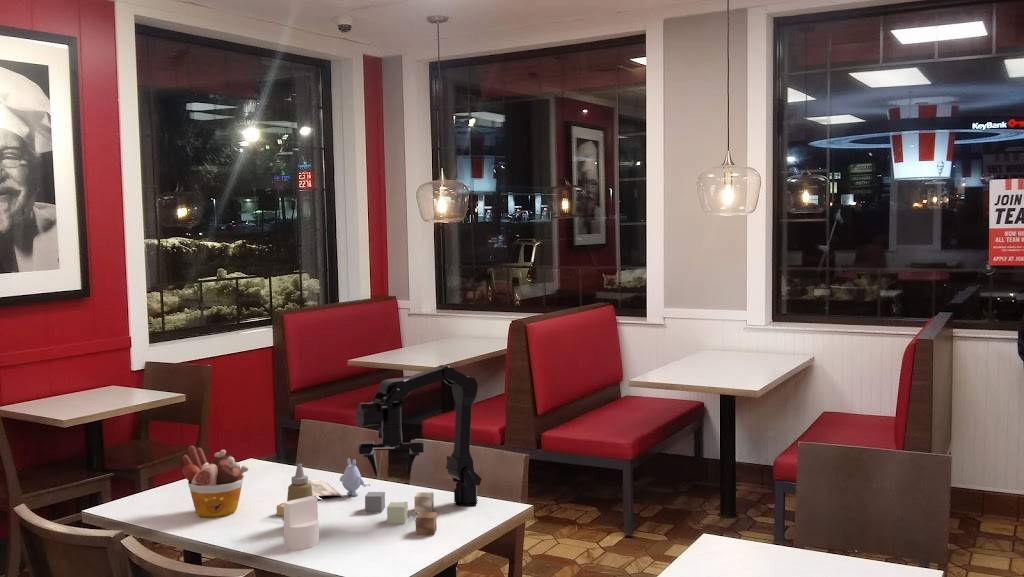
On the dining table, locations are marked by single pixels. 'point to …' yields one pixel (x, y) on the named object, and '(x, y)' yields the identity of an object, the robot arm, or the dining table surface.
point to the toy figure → (351, 478)
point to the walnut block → (426, 523)
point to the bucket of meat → (213, 482)
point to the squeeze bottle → (299, 485)
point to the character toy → (280, 509)
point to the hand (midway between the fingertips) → (392, 475)
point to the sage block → (397, 513)
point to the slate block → (374, 502)
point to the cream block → (424, 501)
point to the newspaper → (322, 488)
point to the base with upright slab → (301, 523)
